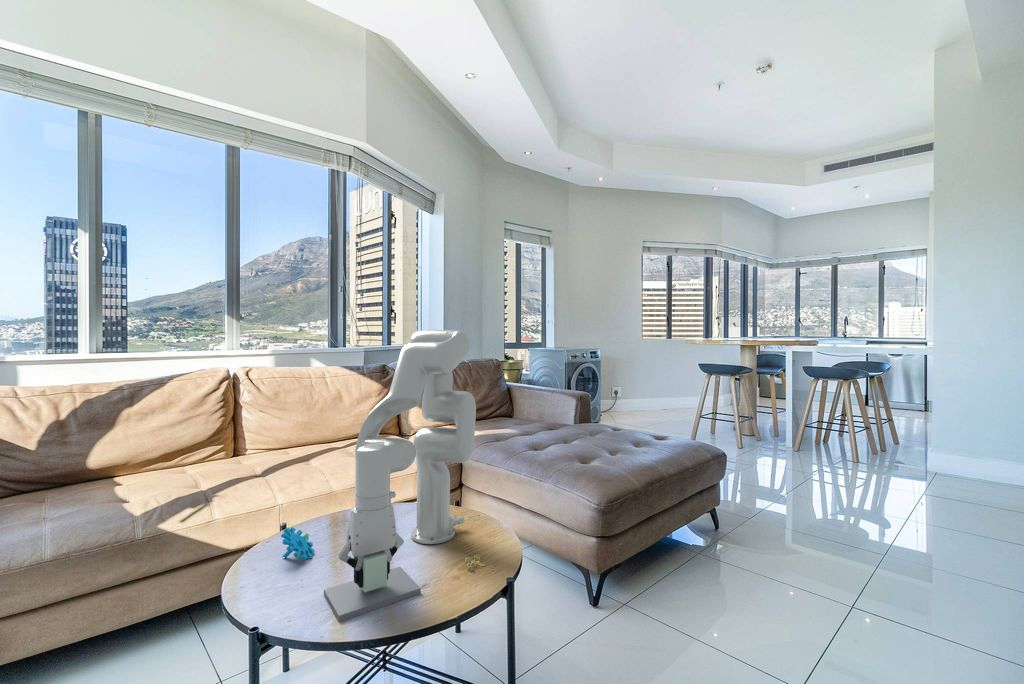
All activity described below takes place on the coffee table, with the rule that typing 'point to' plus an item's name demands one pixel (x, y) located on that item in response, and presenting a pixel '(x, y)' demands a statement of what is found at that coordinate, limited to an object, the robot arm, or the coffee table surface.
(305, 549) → the gear
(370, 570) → the block
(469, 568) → the dice set
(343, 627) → the coffee table surface
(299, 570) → the coffee table surface
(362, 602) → the pin plate
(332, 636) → the coffee table surface
